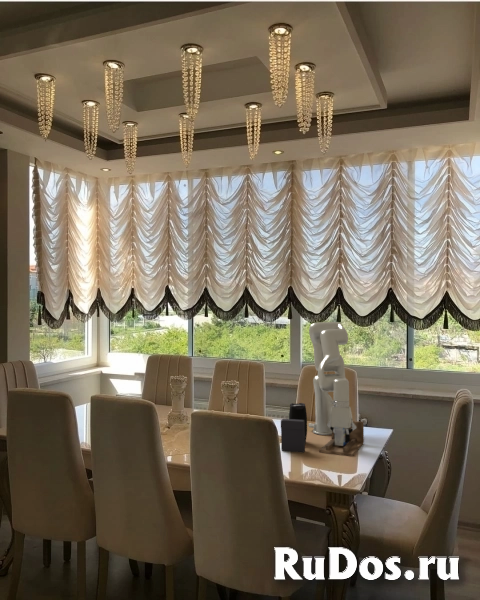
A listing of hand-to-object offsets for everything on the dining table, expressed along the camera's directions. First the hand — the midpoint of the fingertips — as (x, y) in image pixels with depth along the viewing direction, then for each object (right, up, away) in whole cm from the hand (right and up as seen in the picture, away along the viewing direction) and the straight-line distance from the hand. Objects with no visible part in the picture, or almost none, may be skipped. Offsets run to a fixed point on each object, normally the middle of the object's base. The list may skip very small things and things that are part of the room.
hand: (341, 440), depth 259 cm
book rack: (0, -3, 0) cm, 3 cm away
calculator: (-24, -4, -4) cm, 25 cm away
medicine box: (0, -2, 0) cm, 2 cm away
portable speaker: (-20, -4, +11) cm, 23 cm away
